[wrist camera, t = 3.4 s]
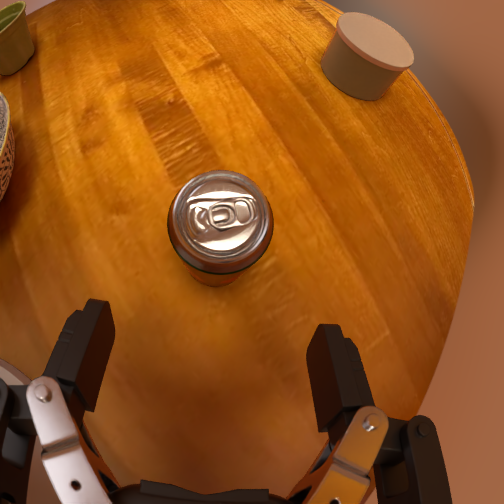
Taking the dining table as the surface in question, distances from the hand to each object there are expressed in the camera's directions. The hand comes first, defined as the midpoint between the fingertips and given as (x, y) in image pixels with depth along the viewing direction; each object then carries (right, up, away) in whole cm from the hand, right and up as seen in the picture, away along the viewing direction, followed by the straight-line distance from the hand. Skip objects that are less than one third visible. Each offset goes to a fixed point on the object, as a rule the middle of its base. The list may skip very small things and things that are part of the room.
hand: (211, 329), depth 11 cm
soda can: (-2, +3, +14) cm, 14 cm away
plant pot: (-32, +30, +14) cm, 46 cm away
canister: (+14, +25, +20) cm, 35 cm away
